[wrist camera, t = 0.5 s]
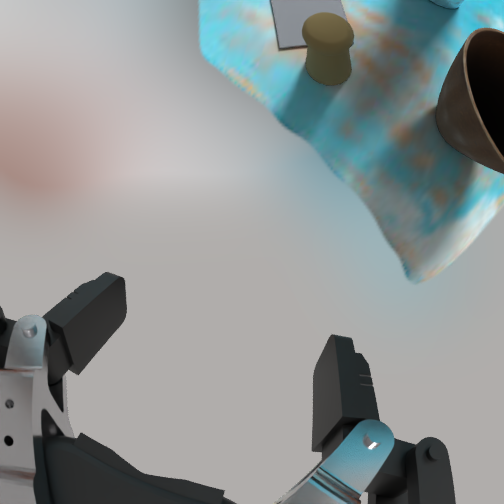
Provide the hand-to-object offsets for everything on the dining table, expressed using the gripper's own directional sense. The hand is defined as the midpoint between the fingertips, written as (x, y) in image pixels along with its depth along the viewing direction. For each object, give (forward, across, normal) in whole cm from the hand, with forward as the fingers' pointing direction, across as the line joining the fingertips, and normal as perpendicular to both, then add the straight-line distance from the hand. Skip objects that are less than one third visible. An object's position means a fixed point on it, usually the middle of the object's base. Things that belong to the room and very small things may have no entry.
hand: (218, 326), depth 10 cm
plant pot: (+26, -22, -17) cm, 38 cm away
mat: (+30, +2, -30) cm, 42 cm away
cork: (+28, -3, -19) cm, 34 cm away
